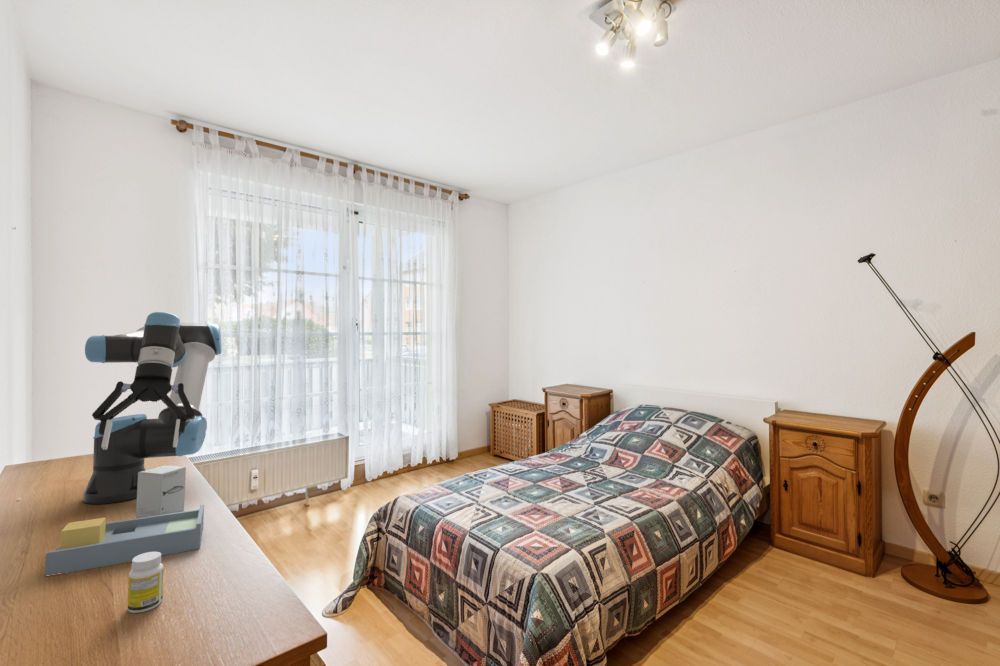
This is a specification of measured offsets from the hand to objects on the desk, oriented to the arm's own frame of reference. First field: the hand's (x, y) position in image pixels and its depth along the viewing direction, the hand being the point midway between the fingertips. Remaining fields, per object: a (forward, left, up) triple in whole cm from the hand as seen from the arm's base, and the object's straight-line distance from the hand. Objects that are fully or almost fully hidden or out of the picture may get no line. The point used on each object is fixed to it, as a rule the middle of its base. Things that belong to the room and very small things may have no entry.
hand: (140, 447), depth 109 cm
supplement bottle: (+40, +7, -20) cm, 46 cm away
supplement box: (-7, +4, -20) cm, 22 cm away
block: (+12, -7, -17) cm, 22 cm away
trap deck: (+12, +1, -20) cm, 24 cm away
